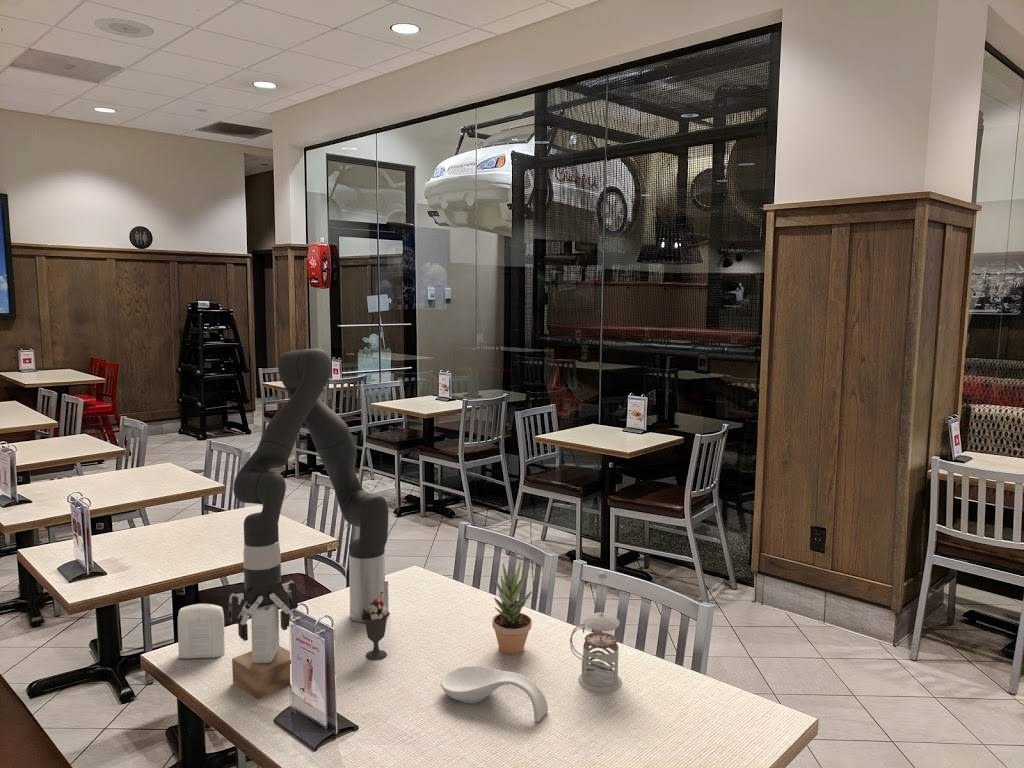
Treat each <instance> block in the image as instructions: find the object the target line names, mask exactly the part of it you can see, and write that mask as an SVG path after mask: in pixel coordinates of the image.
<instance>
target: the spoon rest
mask: <svg viewBox="0 0 1024 768" xmlns="http://www.w3.org/2000/svg"><path fill="white" fill-rule="evenodd" d="M506 685H511V686H515V687H516V688H519V690H521V691H523V692H525V694H526V695H527V696H528V698H529V699H530V701H531V704H532V708H533V709H532V710H533V718H534V721H535V723H538V722H540V721H541V720H542V719H543V718H544V717H545V716H546V715H547V713H548V711H549V709H548V708H549V706H548V701H547V699H546V696H545V695H544V693H543V691H542V690H541V689H540V688H539V687H538V685H536V684H535V683H534V682H533V681H532V680H531V679H529V678H528V677H527V676H524V675H523V674H520V673H519V672H518V673H517V672H513V671H507V670H505V671H504V670H501V669H500V670H499V669H495V668H491V667H487V666H480V665H467V666H461V667H458V668H455V669H453V670H451V671H449V672H448V673H446V674H445V675H444V676H443V677H442V678H441V680H440V687H441V689H442V690H443V692H445V694H446V695H447V696H449V697H450V698H452V699H454V700H456V701H459V702H462V703H466V704H475V703H479V702H482V701H483V700H484V699H485V698H486V697H488V696H490V695H491V694H492V693H493V692H494V691H495V690H497V689H499V688H500V687H502V686H506Z"/></svg>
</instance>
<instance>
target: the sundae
mask: <svg viewBox="0 0 1024 768" xmlns="http://www.w3.org/2000/svg"><path fill="white" fill-rule="evenodd" d="M382 593H383V592H380V594H381V597H382ZM379 597H380V596H379ZM379 597H378V598H379ZM378 598H377V599H378ZM377 599H375V600H374V601H373V602H372V603H371V604H370V605H369V606H368V607H367V610H366V611H365V609H363V610H362V611H363V613H362V614H361V617H362V620H365V624H364V625H365V631H366V632H365V633H366V636H367V639H368V640H370V641H371V642H372V643H373V649H372V650H369V651H368V652H366V653H365V658H366V659H367V660H369V661H380V660H383V659H385V658H386V657H387V655H388V654H387V652H386V650H384V649H380V647H379V643H380V641H382V639H383V638H384V637H385V633H386V629H387V621H388V618H389V617H390V615H391V613H390V612H388V611H387V609H386V607H385V606H384V602H383V601H382V598H381V601H380V602H378V600H377Z"/></svg>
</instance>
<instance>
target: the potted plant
mask: <svg viewBox="0 0 1024 768" xmlns="http://www.w3.org/2000/svg"><path fill="white" fill-rule="evenodd" d="M521 565H522V563H521V561H520V562H519V564H518V567H517V549H515V551H514V560H513V567H512V569H513V570H512V573H511V572H509V574H507V570H506V566H505V563H504V562H503V563H502V572H503V577H502V575H500V583H501V585H500V584H499V582H498V581H497V579H496V578H494V581H495V582H494V583H495V584H496V587H497V590H498V591H499V593H498V597H499V598H500V600H501V601H500V600H498V599H497V598H495V597H493V599H494V601H495V603H496V604H497V606H498V608H497V607H495V606H493V608H494V609H495V610H496V611H497V612H498V614H495V615H494V616H493V617H492V621H491V622H492V623H491V624H492V625H491V626H492V628H493V630H494V632H495V635H496V640H497V644H498V649H499V650H498V651H499V652H500V653H502V654H505V655H510V654H512V655H517V654H518V655H519V654H520V653H522V652H523V651H524V649H525V646H526V642H527V638H528V635H529V632H530V630H531V629H532V625H533V620H532V617H530V616H529V615H528V614H526V613H523V612H521V611H522V609H523V607H524V606H525V604H527V600H528V599H529V598H530V596H531V594H532V592H533V591H532V590H531V591H529V593H528V594H526V596H525V597H524V598H521V599H519V600H518V598H519V596H520V593H521V591H522V589H523V585H524V583H525V579H526V576H527V573H528V571H529V568H528V567H527V568H526V570H525V571H524V573H523V575H522V577H521V578H520V573H521ZM516 569H517V570H516ZM508 575H509V577H508ZM519 578H520V580H519Z"/></svg>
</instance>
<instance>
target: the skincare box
mask: <svg viewBox="0 0 1024 768" xmlns="http://www.w3.org/2000/svg"><path fill="white" fill-rule="evenodd" d="M279 609H280V608H279V607H278V606H277V605H276V604H272V605H268V606H263V607H260V608H257V609H256V610H255V612H254V613H253V615H252V616H251V620H250V621H251V623H250V624H251V651H252V662H253V663H270V662H272V660H273V658H274V657H275V655H276V654H277V652H278V651H279V646H280V620H279V619H280V617H279V616H280V611H279Z"/></svg>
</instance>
